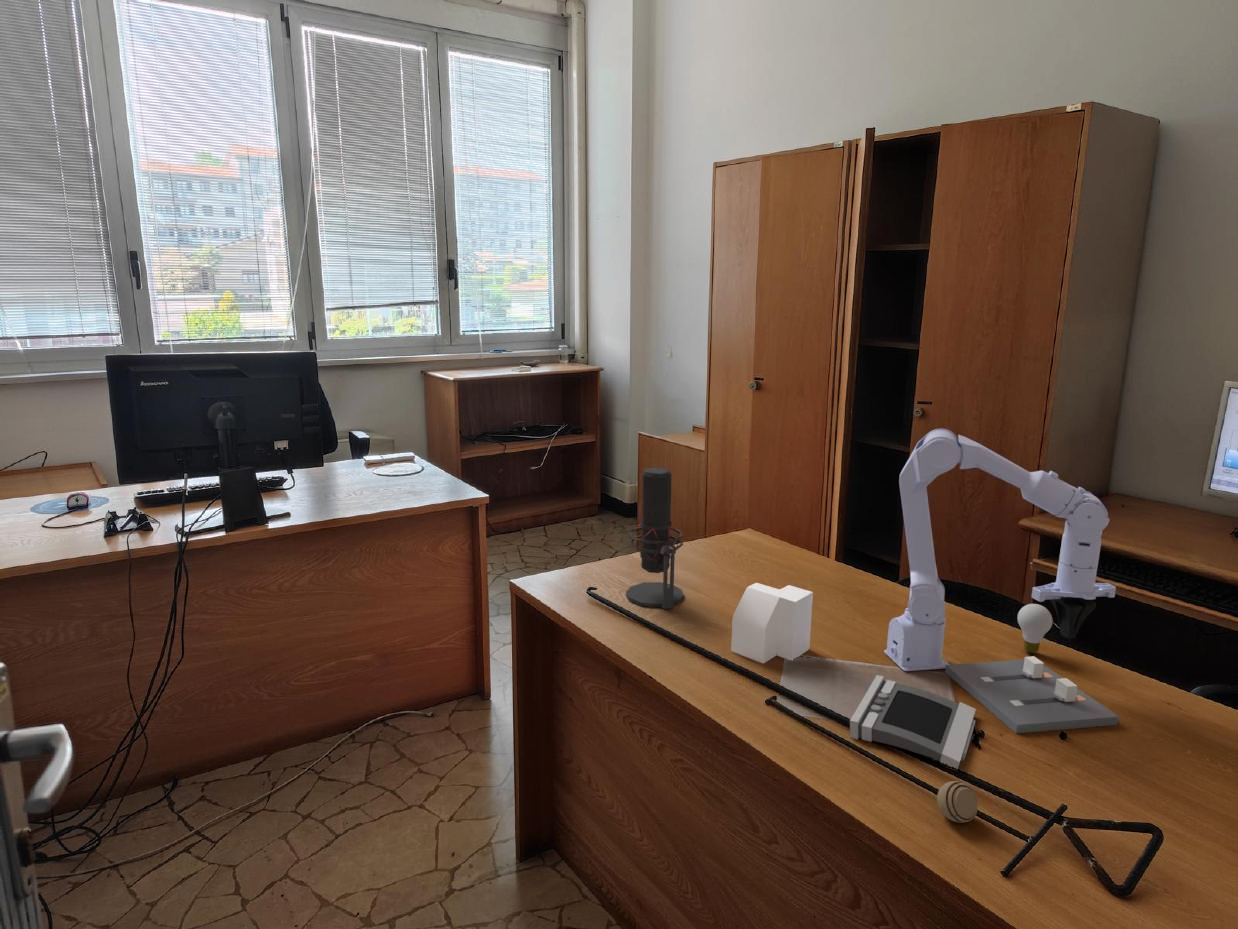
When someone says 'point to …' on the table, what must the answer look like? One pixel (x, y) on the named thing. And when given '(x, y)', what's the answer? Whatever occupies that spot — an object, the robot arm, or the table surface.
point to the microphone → (656, 542)
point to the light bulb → (1034, 625)
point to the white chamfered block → (772, 623)
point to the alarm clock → (914, 721)
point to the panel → (1027, 697)
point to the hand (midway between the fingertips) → (1067, 636)
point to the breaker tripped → (1065, 690)
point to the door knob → (957, 801)
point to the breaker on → (1033, 667)
